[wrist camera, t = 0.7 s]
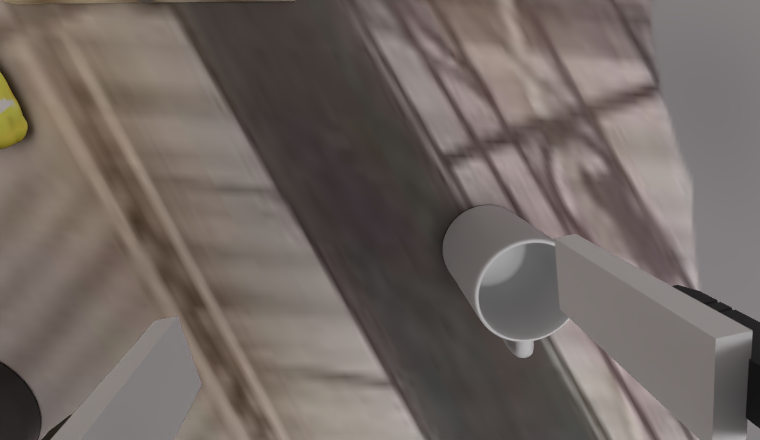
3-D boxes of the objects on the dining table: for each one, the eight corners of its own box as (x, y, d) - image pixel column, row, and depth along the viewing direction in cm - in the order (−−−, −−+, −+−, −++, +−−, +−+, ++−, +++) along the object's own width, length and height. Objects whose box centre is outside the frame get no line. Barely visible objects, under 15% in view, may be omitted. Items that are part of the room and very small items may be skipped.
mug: (435, 213, 41) (466, 251, 30) (521, 196, 41) (582, 227, 31) (452, 323, 44) (486, 391, 34) (532, 306, 44) (590, 369, 34)
